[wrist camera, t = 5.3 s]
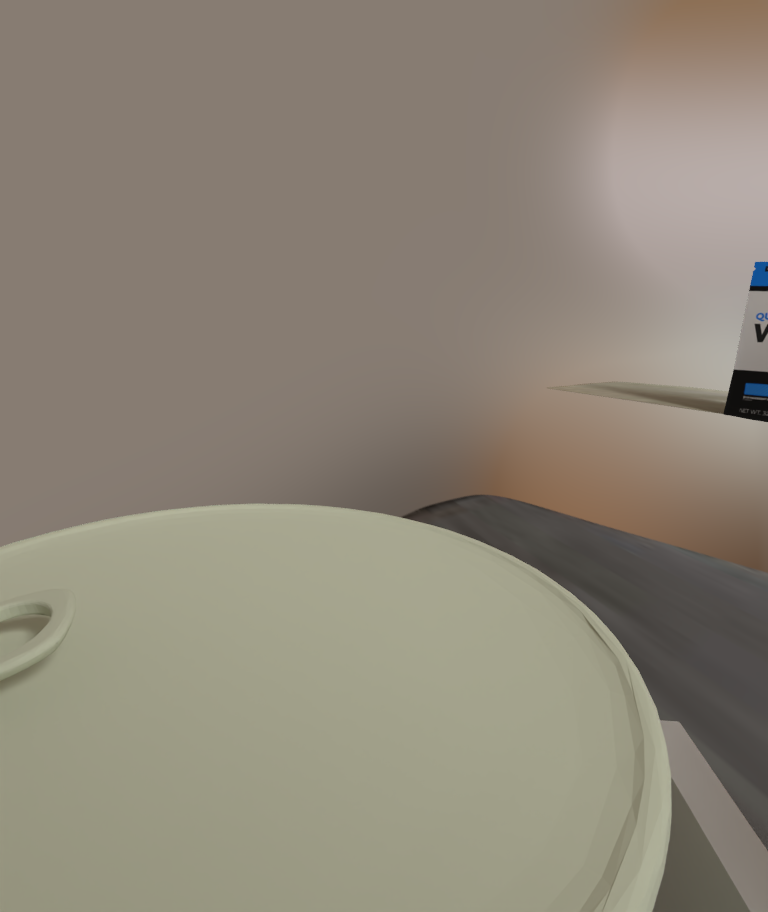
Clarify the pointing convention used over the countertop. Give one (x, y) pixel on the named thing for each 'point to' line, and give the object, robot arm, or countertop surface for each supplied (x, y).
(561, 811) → the can
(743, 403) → the protein powder
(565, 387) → the countertop surface
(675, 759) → the robot arm
